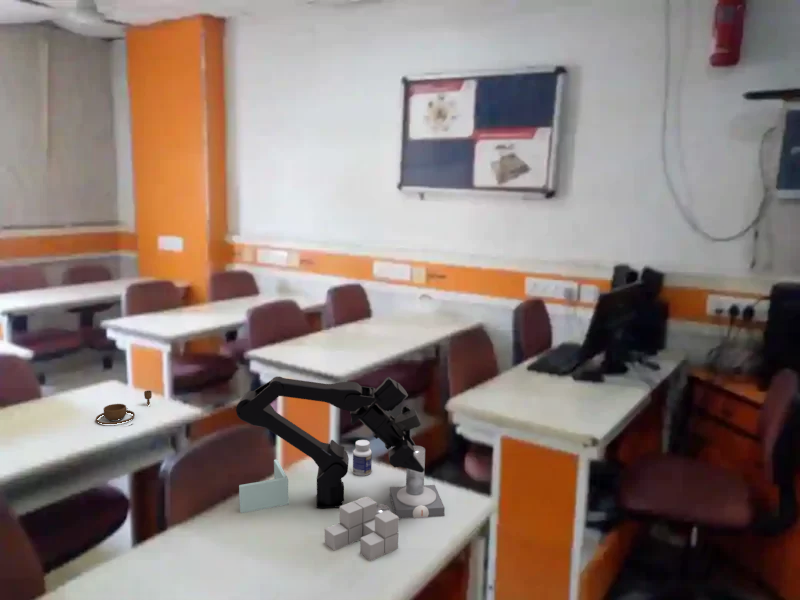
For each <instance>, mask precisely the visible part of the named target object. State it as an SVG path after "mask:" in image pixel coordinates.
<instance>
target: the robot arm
mask: <svg viewBox="0 0 800 600" xmlns="http://www.w3.org/2000/svg"><path fill="white" fill-rule="evenodd" d="M408 396H409V393H407V391H406V389H405V388H404V387H403V385H401V383H400V382H399V381H396V380H395V379H392V378H391V377H390V376H387V377H386V378H385V379H384V380H383V382H382V383H381V384H379V386H378V387H377V388H375V387H371V386H363V385H360V384H359V383H358V382H356V381H340V382H335V383H322V382H313V381H308V380H300V379H292V378H285V377H282V376H274V377H272V378H271V380H269V381H268V382H266V383H264V384H262V385H261V386H259V387H257V388H256V389H255V390H250V391H247V392H245V393H244V394H243V395H242V396H241V398H240V399H239V402H238V404H237V405H236V409H235V412H236V416H237V418H239V420H240V421H243V422H245V423H247V424H248V425H250V426H255V427H259V428H265V429H266V430H268V431H269V432H271V433H273V434H274V435H276V436H277V437H279V438H281V439H282V440H283V441H285V442H286V443H288V444H289V445H291V446H293V447H294V448H296V449H297V450H299V451H300V452H301V453H303V454H305V455H306V456H308V457H309V458H310V459H312V460H313V462H314V463H315V465H317V467H318V468H317V475H316V495H315V503H316V508H317V509H329V508H340V506H342V505H344V504H343V502H344V501H345V485H344V482H343V481H342V480H343V478H344V477H345V476H347V473H348V472H349V471H348V470H349V459H350V458H349V454H348V452H347V451H346V450H345V446H342V445H340V444H338V443H337V442H336V441H335V440H334V439H331V440H330V442H329V443H327V442H326V443H325V442H323V441H320V440H319V439H317V438H315V437H314V436H312V435H311V434H310V433H309V432H307V431H306V430H304V429H302V428H301V427H299V426H298V425H296V424H295V423H293V422H292V421H290V420H289V419H287V418H286V417H284V416H283V415H281V414H280V413H279V412H277V411H276V409H274V407H273V406H272V405H271V403H273V401H275V400H276V399H277V398H279V397H285V398H291V399H297V400H298V399H300V400H308V401H315V402H322V403H327V404H329V405H331V406H333V407H335V408H337V409H340V410H345V411H346V412H347V411H348V412H350V417H351V418H350V424H351V425H355V424H356V422H357V421H360V422H362V424H363V425H364V426H365V427H366V428H367V429H369V431H370V432H372V433H373V437H374V438H375V439H376V440H377V439H378V440H380V441H381V442H382V443H383V444H384V447H385V448H386V449H387V450H388V461H389V463H390V465H391V466H393V468H400V467H401V468H404V469H406V470H407V469H411V470H414V471H417V472H421V473H422V472H423V471H424V472H425V469H424V468H423V467H422V465H421V464H420V462H419V461H418V460H417V458H416V457H415V456H414V448H413V446H417V444H415V441H414V440H413V439H412V437H411V430H412V429H414V428H417V429H418V428H419V427H420V426H421V425H422V423H421V419H420V417H419V415H418V412H417V410H416V409H415V408H414V407H410V406H408V404H407V405H406V404H405V405H404V406H401V413H399V414H398V415H397V416H394V415H393V414H390V413H389V414H387V412H392V411H393V410H394V409H396V408H397V407H398V406H399V405H400V404H401V403H402V402H403V401H404V400H405V399H406V398H408Z"/></svg>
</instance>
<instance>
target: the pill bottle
mask: <svg viewBox="0 0 800 600" xmlns="http://www.w3.org/2000/svg"><path fill="white" fill-rule="evenodd" d="M370 443H371V442H370V441H369V440H367V439H359V440H356V441H355V446H354V447H355V449H353V451H352V472H353V474H354V475H356V476H360V477H365V475H366V476H368V475H370V474H371V473H372V464H373V463H372V457H373V455H372V454H373V452H372V450H371V448H370V446H371V444H370Z"/></svg>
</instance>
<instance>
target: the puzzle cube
mask: <svg viewBox="0 0 800 600" xmlns="http://www.w3.org/2000/svg"><path fill="white" fill-rule="evenodd" d="M376 505H377V501H374V500H373V499H372V498H370V497H369V496H367V495H366V496H364V497H361V498H359V499H356V500H353V501H350V502H348V503H345V504H343V505H342V506H340V507H339V521H338V523H335V524H333V525H330V526H328V527H324V544H325V545H326V546H327V547H329V548H330V549H331V550H333V551H336V550H339V549H341V548H343V547H346V546H348V545H350V544H353V543H356V542H357V541H360V542H359V549H360V550H359V553H360V554H361V555H362V556H364V557H365V558H366V559H367V560H369V561H370V562H372V561H373V560H376V559H378V558H380V557H382V556H384V555H386V554H389V553H392V552H393V551H395V550H397V549H399V527H400V526H399V525H400V524H399V523H400V522H399V521H400V520H399V519H400V518H399V517H398V516H397V515H395V512H394V513H393V512H392V511H391V510H390V509H389V510H387V511H384V512H382V513H380V514H377V515H376Z"/></svg>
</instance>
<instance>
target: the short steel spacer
mask: <svg viewBox="0 0 800 600" xmlns="http://www.w3.org/2000/svg"><path fill="white" fill-rule="evenodd" d="M387 510H389V511H390V506H388V505H387V504H383V503H382V504H381V503H380V504H379V503H378V504H377V505H376V515H377V514H380V513H382V512H384V511H387Z"/></svg>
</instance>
